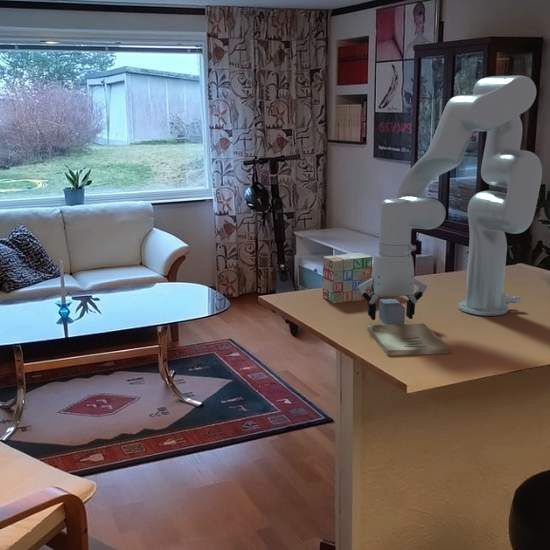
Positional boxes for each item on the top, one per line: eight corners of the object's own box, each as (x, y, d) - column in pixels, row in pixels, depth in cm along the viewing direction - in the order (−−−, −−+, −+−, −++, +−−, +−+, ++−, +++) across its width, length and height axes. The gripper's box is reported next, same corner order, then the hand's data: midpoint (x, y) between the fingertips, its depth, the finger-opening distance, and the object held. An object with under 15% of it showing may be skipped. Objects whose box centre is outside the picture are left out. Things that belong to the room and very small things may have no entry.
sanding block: (394, 319, 180) (395, 298, 178) (404, 329, 172) (405, 307, 171) (378, 320, 179) (379, 299, 178) (387, 330, 172) (388, 308, 170)
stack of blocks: (386, 290, 208) (388, 249, 205) (398, 295, 202) (400, 253, 199) (322, 298, 199) (322, 255, 197) (332, 303, 194) (333, 260, 191)
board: (423, 328, 173) (423, 323, 172) (449, 353, 155) (450, 348, 155) (367, 330, 171) (367, 325, 171) (387, 355, 154) (387, 350, 153)
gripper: (424, 246, 176) (419, 312, 180) (355, 247, 174) (353, 314, 178) (434, 252, 169) (429, 321, 173) (363, 253, 167) (360, 323, 171)
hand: (390, 317), depth 175 cm, fingers open, 9 cm apart
